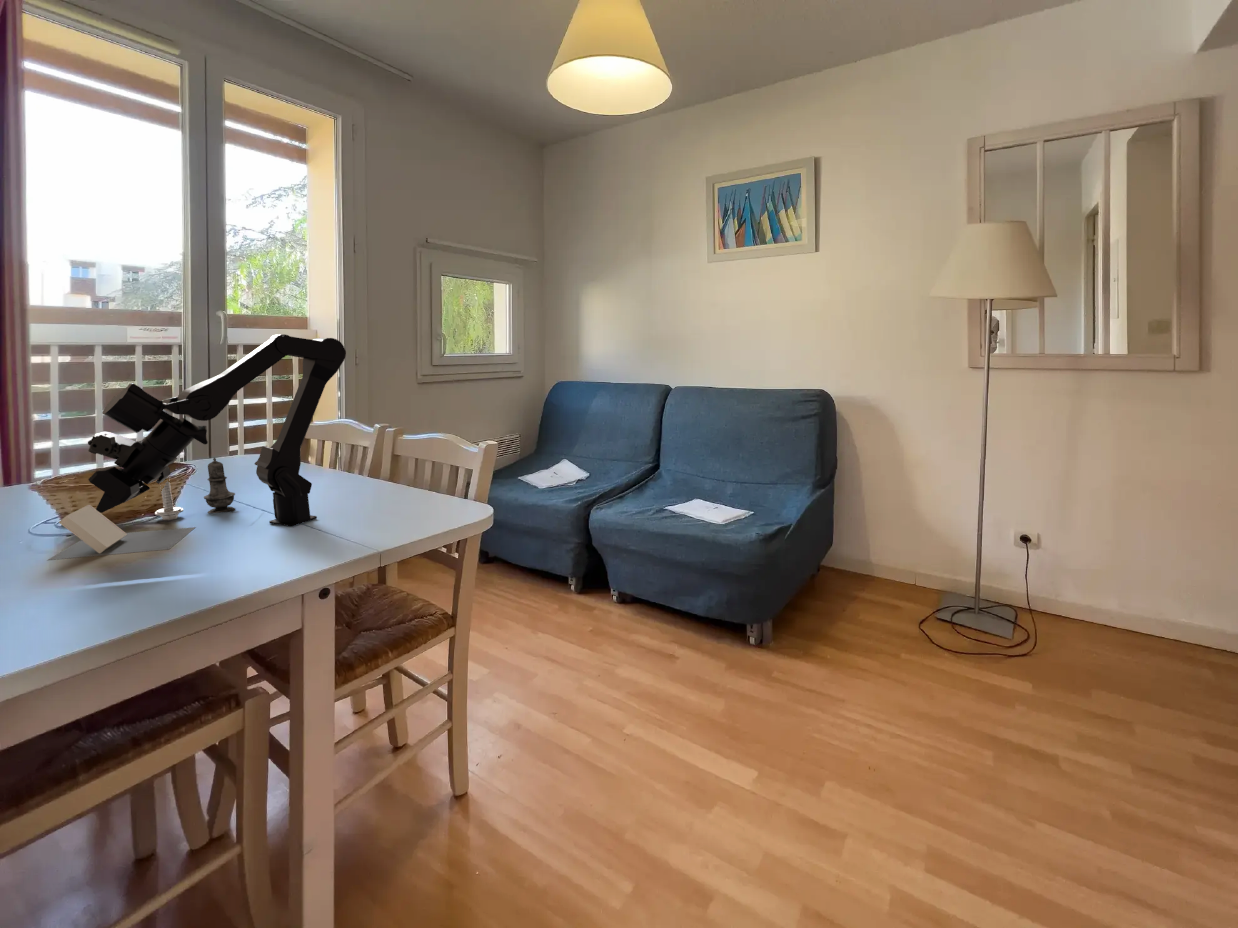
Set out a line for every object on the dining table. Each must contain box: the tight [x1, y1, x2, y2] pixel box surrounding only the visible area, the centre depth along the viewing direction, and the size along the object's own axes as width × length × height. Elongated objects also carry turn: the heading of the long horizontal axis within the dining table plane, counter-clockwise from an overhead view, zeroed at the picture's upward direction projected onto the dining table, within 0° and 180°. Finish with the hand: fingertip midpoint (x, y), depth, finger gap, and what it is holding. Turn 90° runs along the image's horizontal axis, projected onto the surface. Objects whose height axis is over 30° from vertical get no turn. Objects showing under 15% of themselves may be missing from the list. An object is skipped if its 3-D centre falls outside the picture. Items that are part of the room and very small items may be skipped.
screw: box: [154, 475, 184, 521], centre depth 132 cm, size 13×5×5 cm
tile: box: [58, 504, 127, 554], centre depth 114 cm, size 2×8×8 cm
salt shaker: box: [203, 457, 236, 514], centre depth 139 cm, size 6×6×12 cm
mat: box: [47, 526, 197, 561], centre depth 118 cm, size 18×14×1 cm
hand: (99, 510), depth 114 cm, fingers closed
